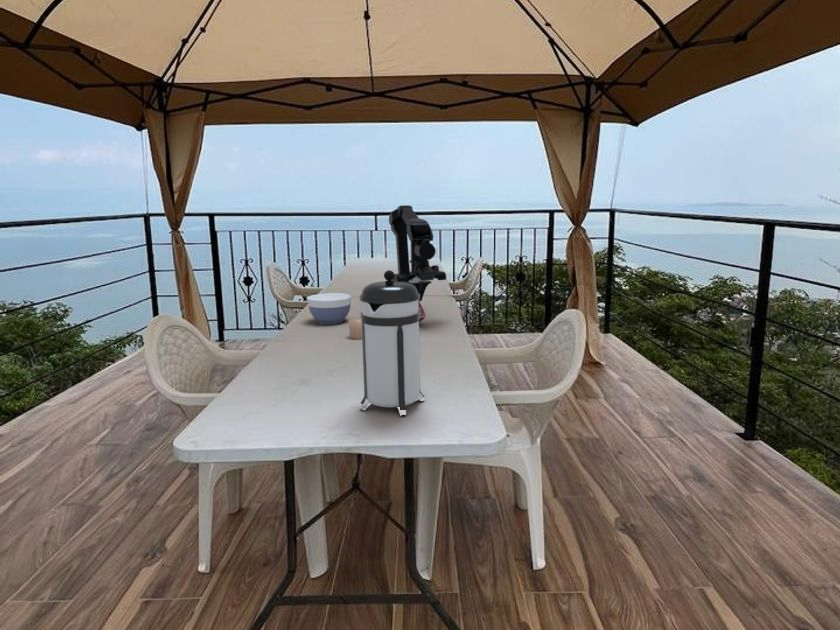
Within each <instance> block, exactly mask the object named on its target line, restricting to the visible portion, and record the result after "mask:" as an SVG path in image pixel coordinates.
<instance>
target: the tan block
mask: <svg viewBox="0 0 840 630" xmlns="http://www.w3.org/2000/svg"><path fill="white" fill-rule="evenodd" d="M348 329H349V330H348V331H349V339H350V338H351V340H362V322H361V317H352V318H349V319H348Z"/></svg>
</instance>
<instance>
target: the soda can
mask: <svg viewBox="0 0 840 630" xmlns="http://www.w3.org/2000/svg"><path fill="white" fill-rule="evenodd" d="M418 310H419V314H420V320H419V324H421V323H422V322H423V321H424V320H425V318H426V316H427V315H426V313H425V311H424V308H423V306H422V304H421V301H418Z"/></svg>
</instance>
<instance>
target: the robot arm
mask: <svg viewBox="0 0 840 630" xmlns="http://www.w3.org/2000/svg"><path fill="white" fill-rule="evenodd" d="M388 224H389V225H390V230H391V232H392V234H393V235H394V236H395V245H396V259H397V273H394V275H395V276H394V279H393V280H392V281H401V282H407V283H410V284H412V285H413V286H415V287H416V289H417V292H418V293H419V294H420V299H419V302H422V300H423V297H424V294H425V291H426V289H427V287H428V286H429V285H430V284H432V281H433V280H434V279H437V280H438V281H446V280H447V273H446V272H445V271H442V270H440V267H439V265H438V264H436V265H434V264H433V265H432V266H430V262H429V260H431V259H433V258H434V257H435V255H436V251H437V250H436V247H435V246H434V245H433V244H432V243H431V242H433V241H434V233H433V229H432V227H431V225H430V224H429V222H428V221H427V220H426V219H423V218H419V217H418V215H417V214H416V213H415V211H414V210H413V206H412V205H409V204H408V205H405V204H404V205H399V206H398V207H397V208H396V209H394V210H392V211H391V213H390V214H389V216H388ZM408 238H409V239H408ZM408 240H409V242H410V255H409V244H408V243H409V242H408ZM409 256H410V257H409ZM410 267H411V268H410Z"/></svg>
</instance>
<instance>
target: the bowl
mask: <svg viewBox="0 0 840 630" xmlns="http://www.w3.org/2000/svg"><path fill="white" fill-rule="evenodd" d="M351 304H352V296H351V294H347V293H341V292H340V293H337V292H336V293H335V292H332V293H331V292H329V293H319V294H313V295H309V296H307V305H308V308H309V313H310V314H311V316H312V317H313V319H315V320H316V322H318V324H319V323H320V325H324V324H332V325H339V324H342V323H343V322H344V320H345V319H346V318H347V316H348V314H349V313H350V310H351ZM341 322H342V323H341ZM338 323H339V324H338Z"/></svg>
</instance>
